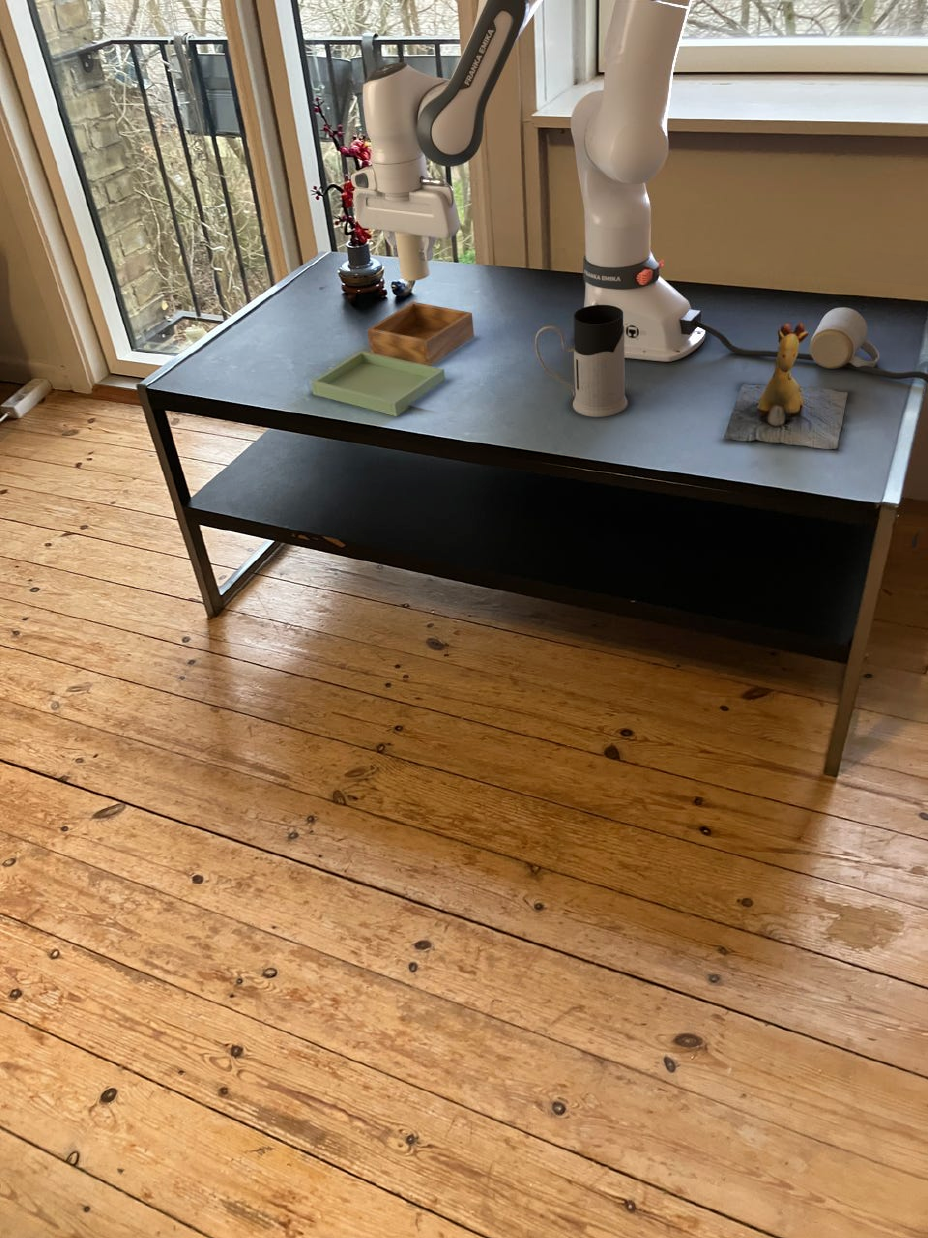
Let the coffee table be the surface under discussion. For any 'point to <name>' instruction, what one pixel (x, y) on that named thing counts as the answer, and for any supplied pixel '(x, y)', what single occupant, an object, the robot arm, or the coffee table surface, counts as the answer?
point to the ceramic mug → (841, 340)
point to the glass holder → (596, 360)
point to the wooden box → (421, 333)
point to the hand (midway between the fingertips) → (412, 257)
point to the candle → (411, 256)
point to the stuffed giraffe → (787, 405)
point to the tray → (377, 382)
